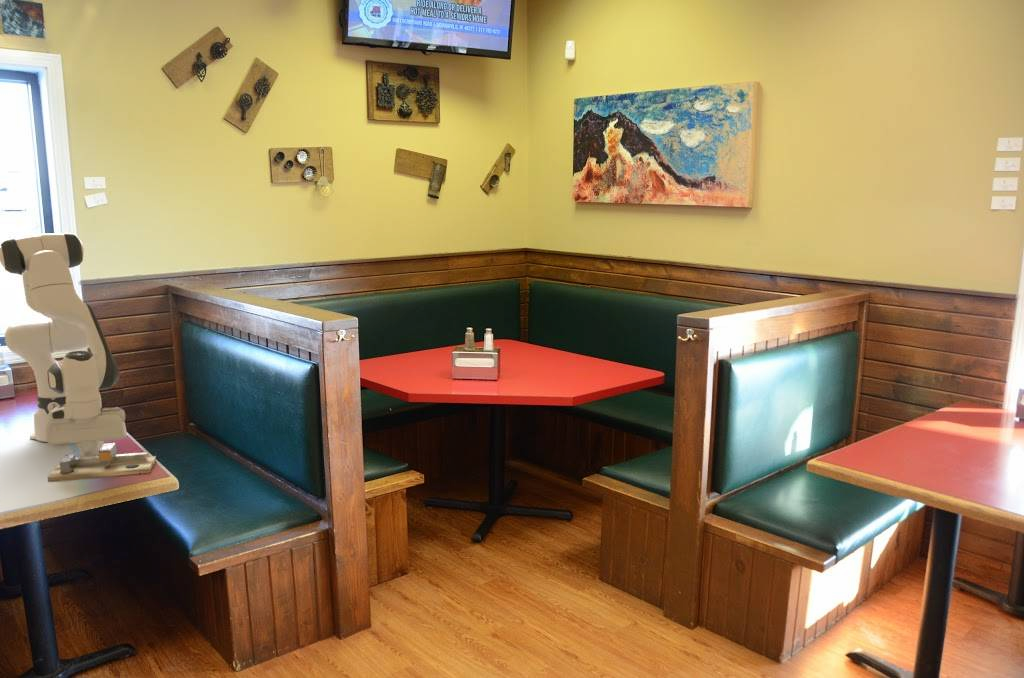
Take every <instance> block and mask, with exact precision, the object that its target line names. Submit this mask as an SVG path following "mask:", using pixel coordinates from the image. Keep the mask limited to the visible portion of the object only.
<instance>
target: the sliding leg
mask: <svg viewBox="0 0 1024 678" xmlns="http://www.w3.org/2000/svg"><path fill="white" fill-rule="evenodd" d="M116 445H117V444H116V442H112V443H111V442H110V443H109V442H108V443H105V444H104V445H103V446H102V447H101V449H100V450H99V461H100V463H104V462H105V468H110V464H109V462H112V460H113V459H114V457H115V456H116V455H117V446H116Z"/></svg>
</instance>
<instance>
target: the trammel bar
mask: <svg viewBox="0 0 1024 678" xmlns="http://www.w3.org/2000/svg"><path fill="white" fill-rule="evenodd" d="M116 454H117V453H116ZM76 456H77V454H75V453H74V454H66V455H65V456H63V458H62V459H61V460H60V461H59V464H60V472H61V474H65V473H71V471H72V470H73V469H74V468H75V467H76V466H87V465H100V464H105V462H104V463H100V461H99V456H92V457H81V456H79V457H76ZM147 457H148V452H147V451H145V452H132V453H119V454H117V455H116V456H115V457H114V459H113V460H112V462H109V464H112V463H125V462H137V461H146V460H147Z"/></svg>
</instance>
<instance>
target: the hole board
mask: <svg viewBox="0 0 1024 678" xmlns="http://www.w3.org/2000/svg"><path fill="white" fill-rule="evenodd" d="M155 460H156V461H157V456H156V455H152V456H147V460H146V461H137V462H125V463H112V464H110V468H105V464H100V465H87V466H76V467H75V468H74V469H73V470H72V471H71V473H65V474H61V472H60V463H58V465H57V466H56V467H55V468H54V469H53V471H51V473H50V474H48V475H47V482H55V481H66V480H67V481H68V480H79V479H90V478H93V479H94V478H103V477H104V478H105V477H115V476H125V475H126V476H129V475H138V474H139V473H141V474H150V473H149V472H151V471H152V469H153V467H154V465H155V463H156V461H155ZM153 464H154V465H153ZM152 466H153V467H152ZM151 468H152V469H151ZM150 470H151V471H150ZM139 475H140V474H139Z"/></svg>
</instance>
